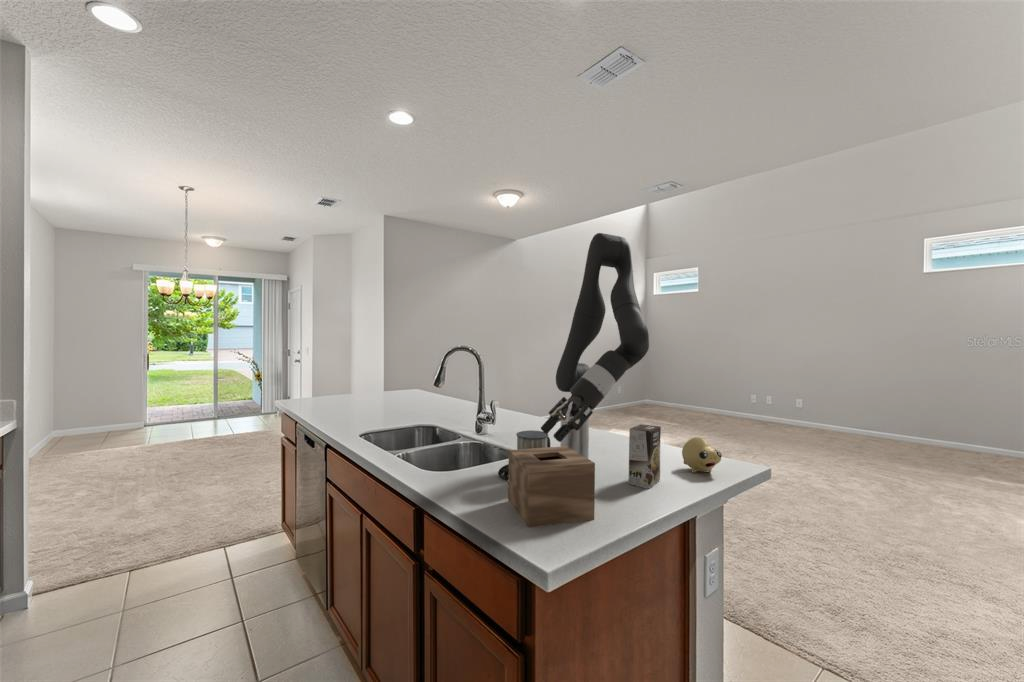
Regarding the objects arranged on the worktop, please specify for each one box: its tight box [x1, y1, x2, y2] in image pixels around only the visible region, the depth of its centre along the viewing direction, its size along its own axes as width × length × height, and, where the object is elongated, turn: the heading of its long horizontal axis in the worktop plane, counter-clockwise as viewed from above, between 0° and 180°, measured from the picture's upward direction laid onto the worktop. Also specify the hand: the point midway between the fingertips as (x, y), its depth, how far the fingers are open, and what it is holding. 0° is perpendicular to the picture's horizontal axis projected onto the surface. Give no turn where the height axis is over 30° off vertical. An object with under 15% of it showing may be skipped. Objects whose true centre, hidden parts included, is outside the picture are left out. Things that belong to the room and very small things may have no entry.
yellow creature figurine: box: [681, 436, 723, 473], centre depth 136 cm, size 10×12×11 cm
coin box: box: [507, 446, 596, 528], centre depth 105 cm, size 16×16×13 cm
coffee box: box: [628, 424, 662, 489], centre depth 126 cm, size 9×6×16 cm
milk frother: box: [497, 430, 551, 481], centre depth 125 cm, size 14×16×15 cm
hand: (549, 435), depth 105 cm, fingers open, 8 cm apart
